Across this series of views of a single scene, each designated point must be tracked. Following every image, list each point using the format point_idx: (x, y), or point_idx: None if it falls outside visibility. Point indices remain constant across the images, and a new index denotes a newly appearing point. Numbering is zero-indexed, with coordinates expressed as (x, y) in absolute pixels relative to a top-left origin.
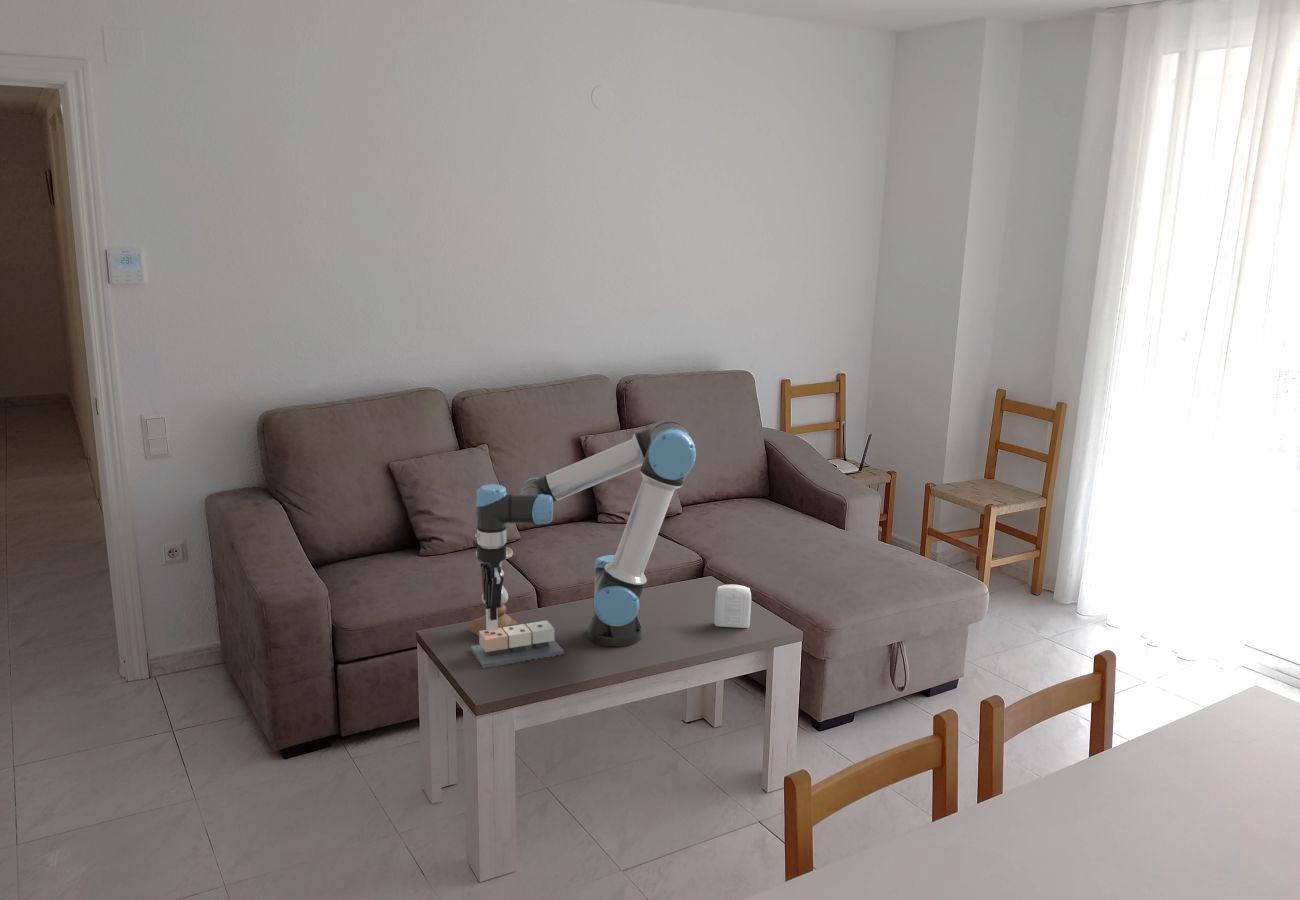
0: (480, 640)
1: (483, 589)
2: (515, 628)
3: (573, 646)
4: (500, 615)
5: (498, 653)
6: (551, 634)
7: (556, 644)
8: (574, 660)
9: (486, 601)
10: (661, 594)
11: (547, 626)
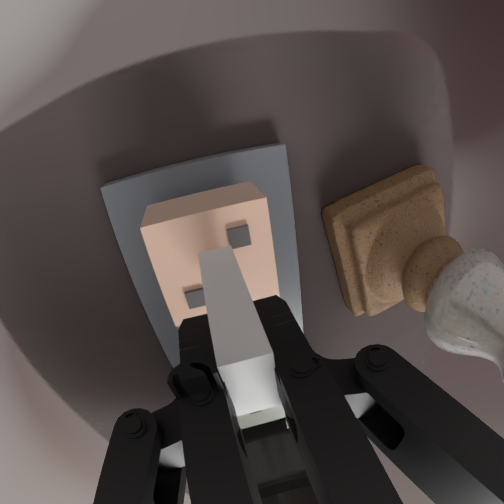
0: (231, 191)
1: (440, 416)
2: None
3: None
4: (402, 286)
5: None
6: None
7: None
8: (156, 406)
9: (292, 390)
10: (376, 447)
11: (245, 421)
